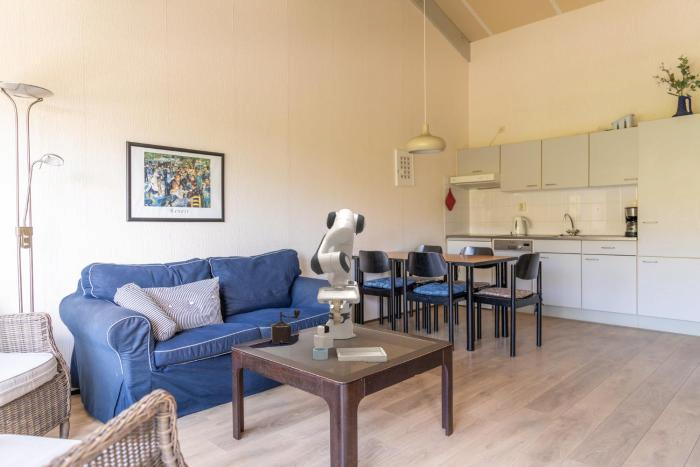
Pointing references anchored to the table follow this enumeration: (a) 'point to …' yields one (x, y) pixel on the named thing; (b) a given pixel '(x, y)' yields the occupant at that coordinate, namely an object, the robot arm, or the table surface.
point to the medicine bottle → (323, 337)
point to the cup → (320, 353)
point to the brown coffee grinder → (282, 329)
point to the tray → (362, 354)
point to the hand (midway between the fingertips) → (336, 309)
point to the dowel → (336, 312)
